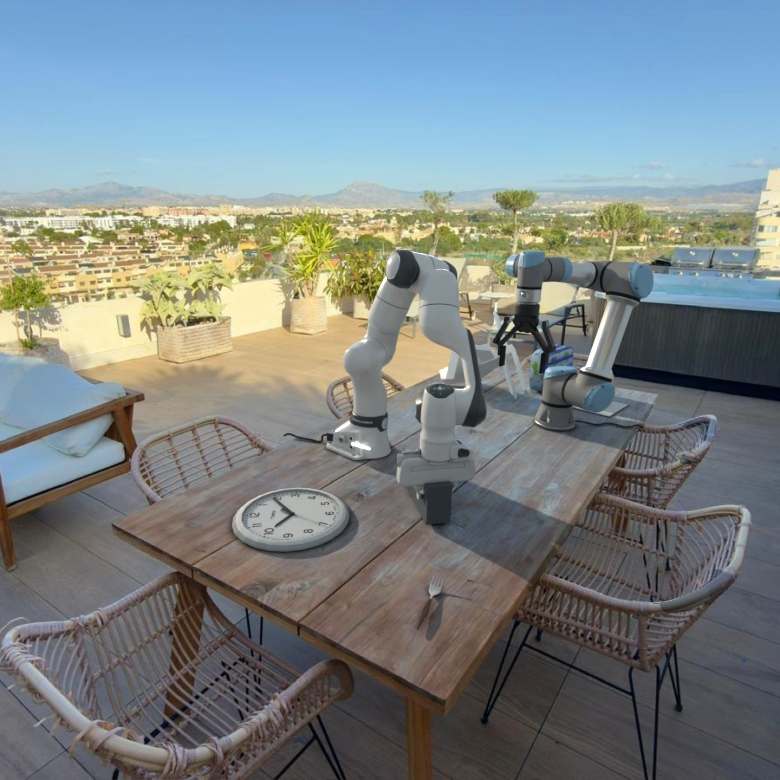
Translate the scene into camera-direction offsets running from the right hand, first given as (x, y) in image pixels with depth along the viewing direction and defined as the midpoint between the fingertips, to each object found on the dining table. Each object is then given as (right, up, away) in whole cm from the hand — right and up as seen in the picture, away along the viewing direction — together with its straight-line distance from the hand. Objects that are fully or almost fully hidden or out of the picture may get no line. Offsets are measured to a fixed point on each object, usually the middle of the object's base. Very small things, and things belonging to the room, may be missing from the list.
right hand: (521, 369), depth 167 cm
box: (-32, -37, -22) cm, 54 cm away
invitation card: (+49, -14, +59) cm, 78 cm away
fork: (-34, -50, -62) cm, 87 cm away
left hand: (-30, -34, -32) cm, 56 cm away
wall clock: (-68, -40, -31) cm, 85 cm away
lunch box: (+34, -6, +83) cm, 90 cm away
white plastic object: (0, -8, +76) cm, 76 cm away
